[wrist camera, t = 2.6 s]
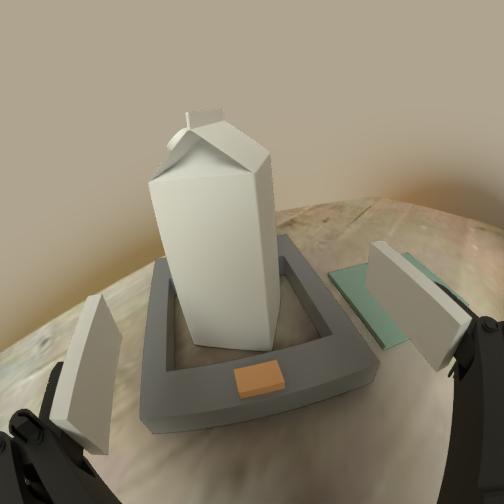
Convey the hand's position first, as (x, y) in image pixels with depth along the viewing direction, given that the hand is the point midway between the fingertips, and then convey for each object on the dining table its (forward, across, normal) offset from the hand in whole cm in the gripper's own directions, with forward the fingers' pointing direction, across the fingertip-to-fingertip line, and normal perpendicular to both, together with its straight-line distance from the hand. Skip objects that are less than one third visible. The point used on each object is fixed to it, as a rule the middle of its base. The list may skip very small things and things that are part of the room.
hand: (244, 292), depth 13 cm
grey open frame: (+10, 0, -11) cm, 15 cm away
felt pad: (+8, +17, -11) cm, 22 cm away
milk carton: (+10, 0, -11) cm, 15 cm away
